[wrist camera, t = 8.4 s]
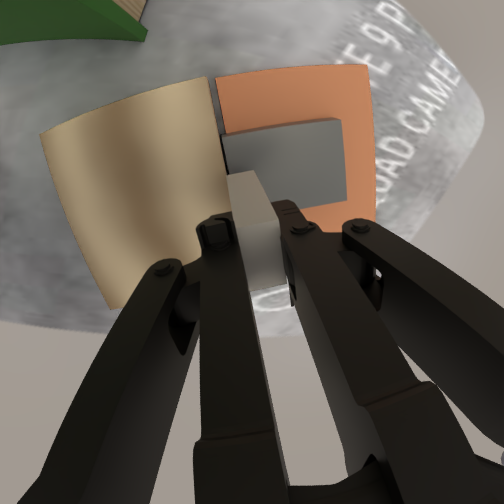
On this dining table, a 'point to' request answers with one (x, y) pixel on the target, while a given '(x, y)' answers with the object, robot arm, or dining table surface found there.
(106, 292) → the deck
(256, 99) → the mat
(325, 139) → the gray flat block
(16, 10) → the hardback book
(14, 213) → the dining table surface
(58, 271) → the dining table surface
